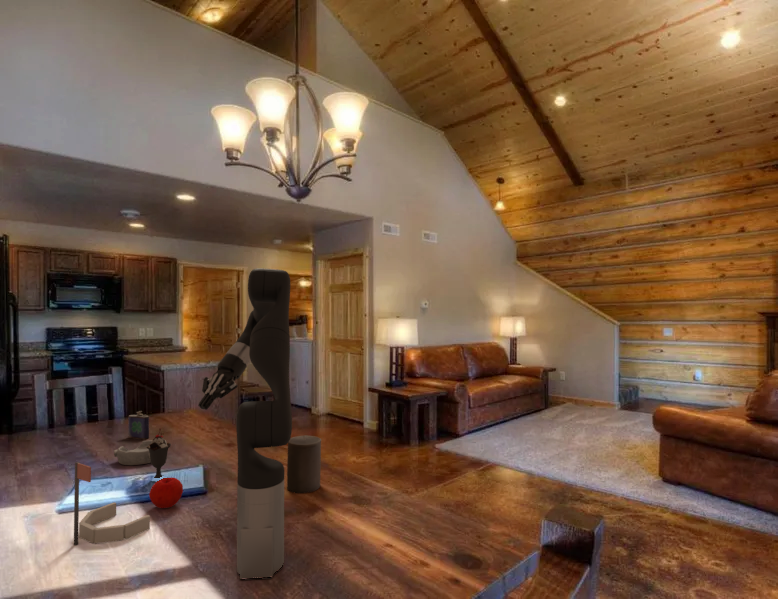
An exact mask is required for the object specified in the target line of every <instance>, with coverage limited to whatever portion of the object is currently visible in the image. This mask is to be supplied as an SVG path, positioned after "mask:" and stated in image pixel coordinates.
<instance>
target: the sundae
mask: <svg viewBox="0 0 778 599" xmlns="http://www.w3.org/2000/svg"><path fill="white" fill-rule="evenodd" d="M161 432H162V428H161V427H160V428H159V431H158V434H156V435H155V437H153V439H151V440H152V442H151V444H150V445H149V446H148V447H147V449H149V453H150V460H151V463H150V464H151V466H152V467H153V468H155V469H156V470H155V471H156V473H155V475H154V476H153V477H154V478H160V477H162V476H163V474H162V472H161V471H162V468H163V466H164V465H165V464H166V463H167V458H168V452H169V448H171V446H172V445H171V442H167V440H166V439H164V436H163V435H162V433H161Z"/></svg>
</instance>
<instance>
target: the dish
mask: <svg viewBox="0 0 778 599" xmlns="http://www.w3.org/2000/svg"><path fill="white" fill-rule="evenodd" d="M152 440H153V439H151V440H150V439H148V440H143V441H141V443H140V444H139V445H138V446H137V447H136V448H135V449H128V448H126V447H125V446H123V445H121V446H119V447H118V448H117V449H114V450H113V456H114V457H117V460H118V463H119V464H120V465H122V466H123V465H125V466H137V465H145V464H151V460H150V453H149V449H147V447H148V446H149V445H150V444H151V442H152Z"/></svg>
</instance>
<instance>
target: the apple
mask: <svg viewBox="0 0 778 599" xmlns="http://www.w3.org/2000/svg"><path fill="white" fill-rule="evenodd" d="M183 492H184V485H183V483H182V482H181V480H179V479H178V478H176V477H167V478H163V479H161V480H159V481H157V482H154V483H153V485H152V486H151V488H150V491H149V494H148V496H149V497H148V498H149V500H150V502H151V504H153V505H154V506H155V507H156V508H159V509H168V508H173V507H174V506H175V505H176V504H177V503H178V502H179V501H180V500H181V497H182V496H183Z"/></svg>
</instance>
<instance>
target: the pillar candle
mask: <svg viewBox="0 0 778 599" xmlns="http://www.w3.org/2000/svg"><path fill="white" fill-rule="evenodd" d="M321 452H322V438H320V437H318V436H315V435H306V434H305V435H298V436H293V437H292V436H291V438H290V440H289V442H288V443H287V462H286V467H287V468H286V472H287V473H286V474H287V475H286V477H287V478H286V480H287V481H286V482H287V483H286V489H287V490H288V491H289V492H291V493H294V492H295V493H294V494H308V493H313V492H315V491H317V490H318V489H319V488H320V487H321V468H322V467H321V462H322V460H321V459H322V457H321V456H322V454H321ZM307 492H308V493H307Z"/></svg>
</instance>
